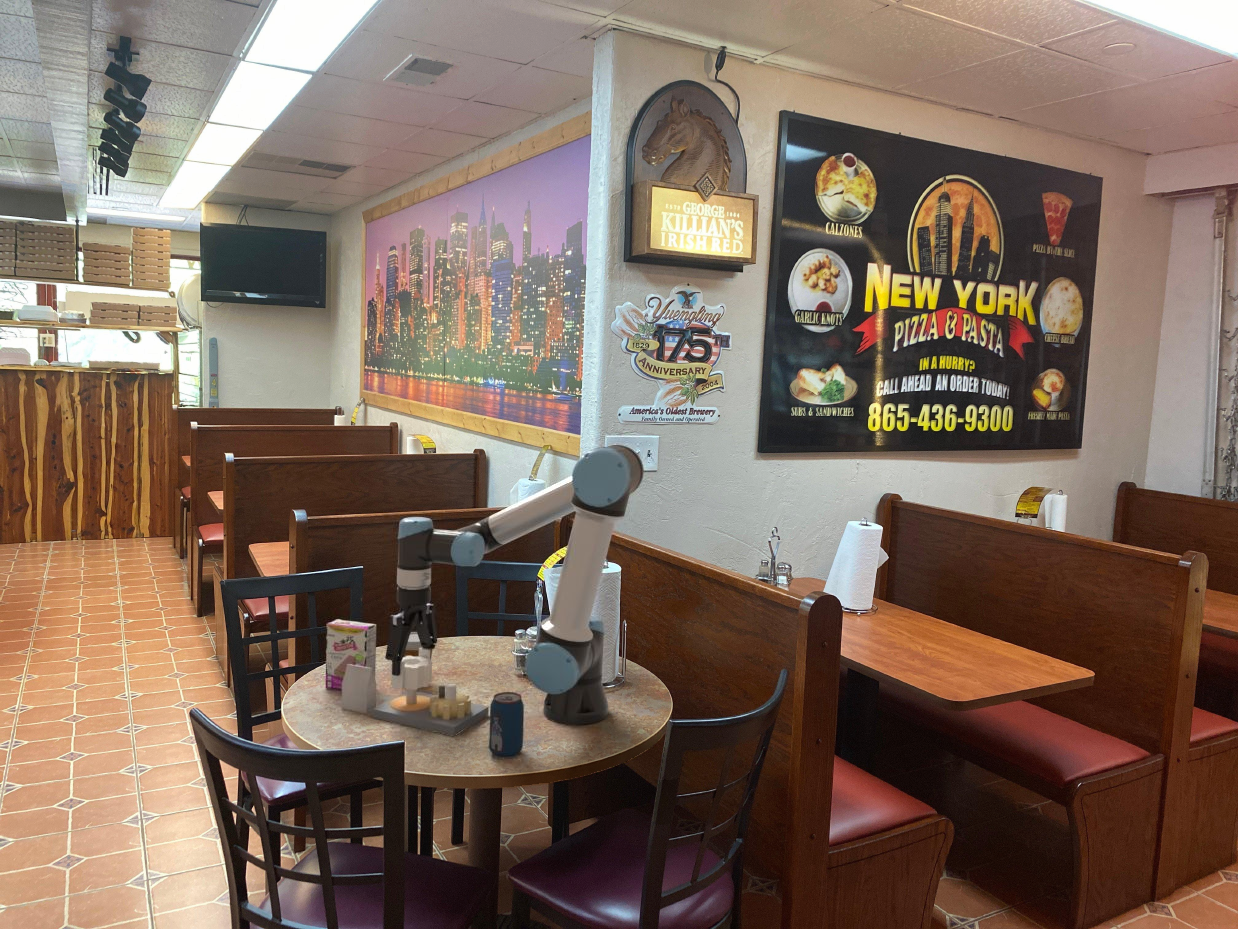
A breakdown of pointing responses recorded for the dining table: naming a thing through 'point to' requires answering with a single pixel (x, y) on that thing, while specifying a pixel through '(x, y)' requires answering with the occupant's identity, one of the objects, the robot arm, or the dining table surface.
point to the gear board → (432, 710)
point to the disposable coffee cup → (413, 645)
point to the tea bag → (358, 689)
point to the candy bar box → (348, 649)
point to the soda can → (506, 725)
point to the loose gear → (416, 672)
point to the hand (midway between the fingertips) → (411, 682)
